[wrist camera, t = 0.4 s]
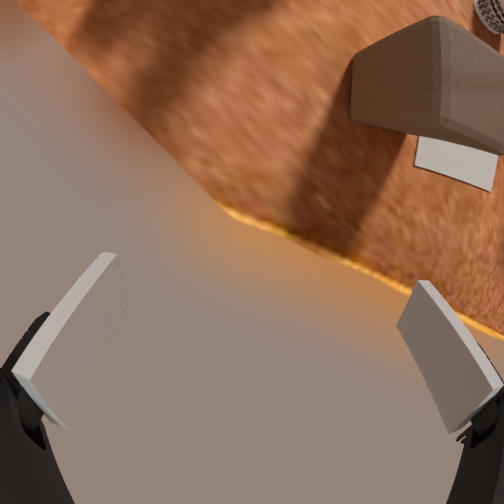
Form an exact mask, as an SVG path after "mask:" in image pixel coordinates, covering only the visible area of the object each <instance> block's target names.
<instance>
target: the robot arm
mask: <svg viewBox="0 0 504 504" xmlns="http://www.w3.org/2000/svg"><path fill="white" fill-rule="evenodd" d="M125 308H126V301H125V296H124V291H123V285H122V279H121V273H120V266H119V259H118V254H117V253H109V252H102V253H101V254H100V255H99V256H98V257H97V258H96V259H95V260H94V261H93V263H92V264H91V265H90V266H89V267H88V268H87V270H86V271H85V272H84V273H83V274H82V275H81V276H80V278H79V279H78V280H77V281H76V282H75V284H74V285H73V286H72V287H71V288H70V290H69V291H68V292H67V293H66V295H65V296H64V297H63V298H62V300H61V301H60V302H59V303H58V305H57V306H56V307H55V308H54V310H53V311H52V313H49V312H45V313H44V314H42V315H41V316H39V317H38V318H36V319H35V321H34V322H33V323H32V324H31V326H30V327H29V328H28V331H26V333H25V334H24V335H23V337H22V339H20V341H19V342H18V344H17V345H16V347H15V348H14V350H13V351H12V353H11V354H10V355H9V357H8V359H7V360H6V362H5V363H4V365H3V366H2V368H0V504H75V503H74V501H73V499H72V497H71V495H70V493H69V491H68V489H67V487H66V484H65V482H64V480H63V478H62V475H61V473H60V471H59V468H58V465H57V463H56V460H55V457H54V455H53V452H52V449H51V446H50V443H49V440H48V437H47V434H46V430H45V427H44V424H43V422H42V421H41V418H42V416H43V414H44V415H45V416H46V417H47V418H48V419H49V420H50V421H51V422H52V423H54V424H56V425H59V426H61V427H63V428H66V429H68V430H69V429H70V426H71V423H72V421H73V418H74V416H75V413H76V411H77V408H78V406H79V404H80V401H81V399H82V396H83V394H84V392H85V390H86V387H87V385H88V383H89V381H90V378H91V376H92V374H93V372H94V370H95V368H96V366H97V363H98V361H99V359H100V357H101V355H102V353H103V351H104V349H105V347H106V345H107V343H108V341H109V339H110V337H111V335H112V333H113V331H114V329H115V327H116V325H117V323H118V321H119V319H120V318H121V316H122V314H123V312H124V310H125ZM396 326H397V328H398V329H399V331H400V333H401V335H402V337H403V338H404V340H405V342H406V344H407V346H408V348H409V350H410V352H411V354H412V356H413V357H414V359H415V361H416V363H417V365H418V367H419V369H420V371H421V373H422V375H423V377H424V380H425V381H426V384H427V386H428V388H429V390H430V392H431V394H432V396H433V398H434V401H435V403H436V405H437V407H438V410H439V412H440V414H441V417H442V419H443V422H444V424H445V426H446V429H447V431H448V434H450V433H452V432H454V431H457V430H459V429H461V428H462V427H463V426H465V425H466V424H467V423H468V422H469V421H470V420H471V423H472V425H471V426H470V427H469V428H467V429H466V430H465V431H464V432H463V433H462V434H460V435H459V436H458V437H457V440H456V441H457V442H458V441H459V440H460V439H462V438H463V437H464V436H466V437H465V438H464V439H463V440H462V441H461V443H462V444H464V448H463V452H462V456H461V460H460V463H459V467H458V470H457V474H456V477H455V480H454V484H453V486H452V489H451V492H450V495H449V498H448V500H447V503H446V504H504V382H503V380H502V378H501V377H500V375H499V373H498V372H497V370H496V369H495V367H494V365H493V364H492V363H491V362H490V359H489V358H488V356H487V355H485V352H484V350H483V349H482V347H481V346H480V345H479V344H478V343H477V342H476V341H475V339H474V338H473V336H472V335H471V334H470V332H469V331H468V330H467V328H466V327H465V325H464V324H463V323H462V321H461V320H460V319H459V317H458V316H457V315H456V313H455V312H454V311H453V310H452V308H451V307H450V306H449V305H448V303H447V302H446V301H445V300H444V298H443V297H442V296H441V295H440V293H439V292H438V291H437V290H436V289H435V287H434V286H433V285H432V284H431V283H430V281H426V280H417V282H416V284H415V287H414V289H413V291H412V293H411V296H410V298H409V300H408V302H407V304H406V307H405V309H404V311H403V313H402V315H401V317H400V319H399V321H398V323H397V325H396Z"/></svg>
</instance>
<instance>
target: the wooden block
mask: <svg viewBox="0 0 504 504" xmlns="http://www.w3.org/2000/svg"><path fill="white" fill-rule="evenodd" d="M350 117H351V119H352V120H354V121H355V122H359V123H364V124H368V125H373V126H378V127H382V128H386V129H390V130H394V131H398V132H402V133H406V134H411V135H417V136H422V137H427V138H432V139H437V140H442V141H446V142H451V143H455V144H459V145H463V146H467V147H471V148H474V149H478V150H482V151H485V152H488V153H492V154H495V155H498V156H502V155H504V56H503V55H501V54H500V53H499V52H498V51H496V50H495V49H494V48H492V47H491V46H489V45H488V44H487V43H485V42H484V41H482V40H481V39H480V38H478V37H477V36H475V35H474V34H472V33H470V32H469V31H467V30H466V29H464V28H462V27H461V26H459V25H457V24H456V23H454V22H452V21H451V20H449V19H447V18H445V17H441V16H431V17H428V18H426V19H423V20H421V21H419V22H417V23H414V24H412V25H410V26H408V27H406V28H404V29H401V30H399V31H397V32H395V33H393V34H391V35H389V36H387V37H385V38H383V39H381V40H379V41H378V42H376V43H374V44H372V45H370V46H368V47H366V48H365V49H363V50H361V51H359V52H358V53H356V54H355V55H354V57H353V68H352V88H351V103H350Z"/></svg>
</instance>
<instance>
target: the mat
mask: <svg viewBox="0 0 504 504" xmlns="http://www.w3.org/2000/svg"><path fill="white" fill-rule="evenodd" d="M497 158H498V155H495V154H492V153H488V152H485V151H482V150H478V149H474V148H471V147H467V146H463V145H459V144H455V143H451V142H446V141H442V140H437V139H432V138H427V137H422V136H418V143H417V149H416V155H415V160H414V165H416V166H419V167H423V168H426V169H429V170H432V171H435V172H439V173H442V174H445V175H447V176H450V177H453V178H456V179H459V180H462V181H464V182H467V183H470V184H472V185H475V186H477V187H480V188H482V189H485V190H487V191H490V192H491V189H492V184H493V180H494V175H495V169H496V164H497Z"/></svg>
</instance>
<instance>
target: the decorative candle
mask: <svg viewBox="0 0 504 504" xmlns="http://www.w3.org/2000/svg"><path fill="white" fill-rule="evenodd" d="M474 7H475V10H476V12H477V14H478V16H479V18H480V20H481V21H482V22H483V24H484V25H485V26H486V27H487V28H488V29H489V30H490V31H491V32H493V33H494V34H501V32H502V33H503V34H504V0H474Z"/></svg>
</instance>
